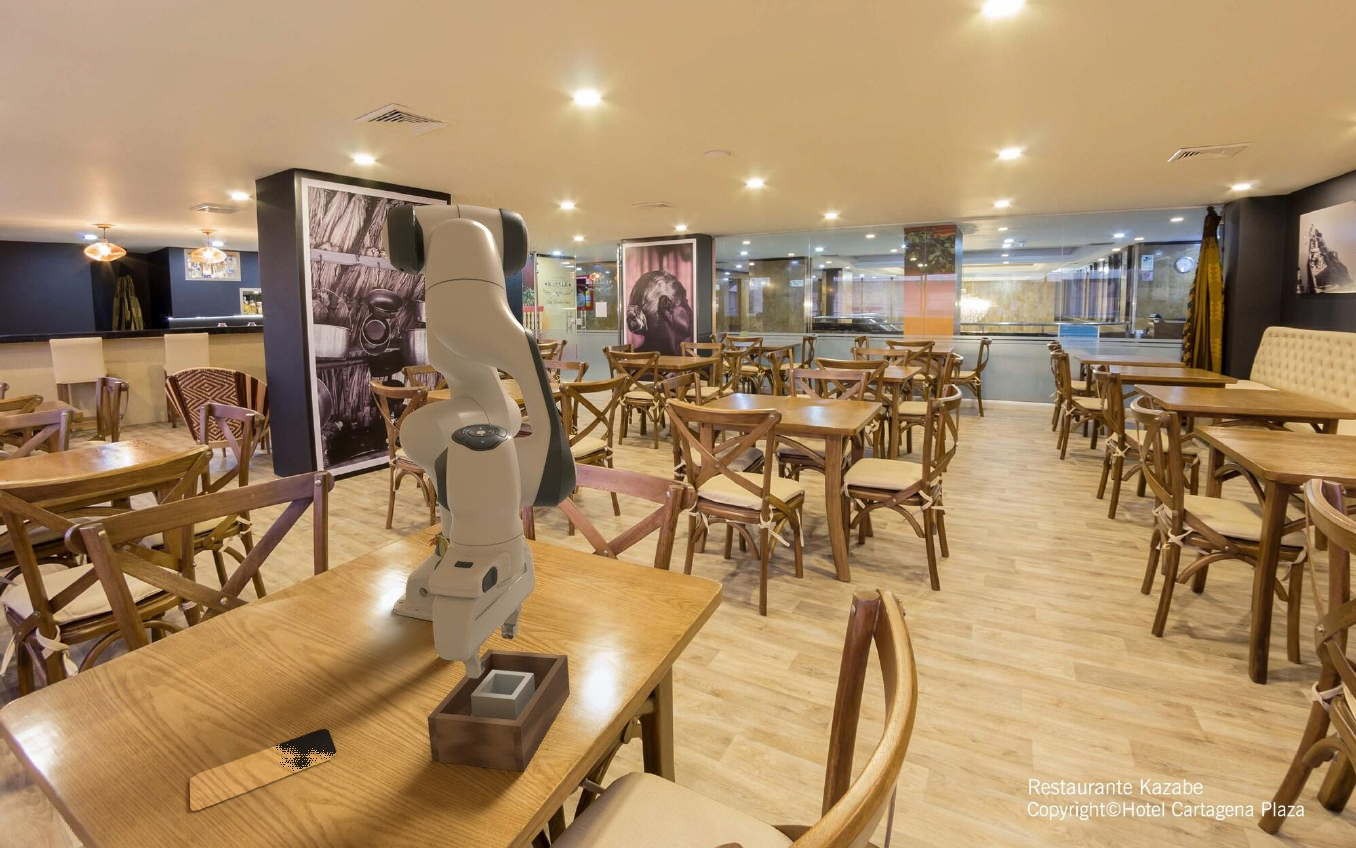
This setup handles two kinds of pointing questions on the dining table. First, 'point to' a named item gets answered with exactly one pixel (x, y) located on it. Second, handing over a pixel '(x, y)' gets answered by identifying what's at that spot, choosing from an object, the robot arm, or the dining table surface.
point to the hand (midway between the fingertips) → (493, 654)
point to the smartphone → (309, 746)
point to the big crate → (499, 739)
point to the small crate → (503, 694)
